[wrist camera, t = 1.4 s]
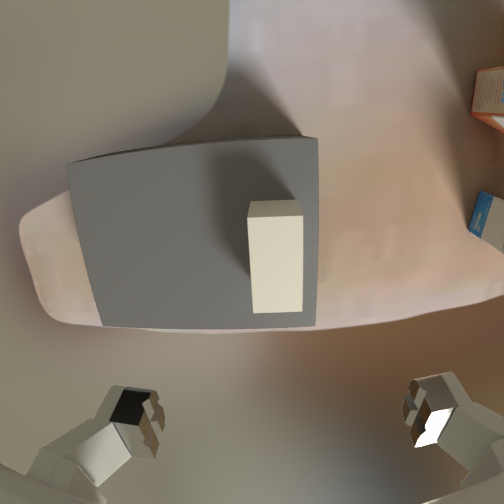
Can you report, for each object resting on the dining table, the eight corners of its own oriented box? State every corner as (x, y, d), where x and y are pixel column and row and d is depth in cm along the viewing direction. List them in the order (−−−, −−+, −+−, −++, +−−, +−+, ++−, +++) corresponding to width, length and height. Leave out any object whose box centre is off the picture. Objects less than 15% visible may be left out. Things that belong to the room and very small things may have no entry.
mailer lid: (70, 162, 21) (34, 173, 17) (316, 138, 20) (330, 140, 16) (105, 322, 26) (83, 353, 22) (314, 321, 25) (322, 359, 21)
